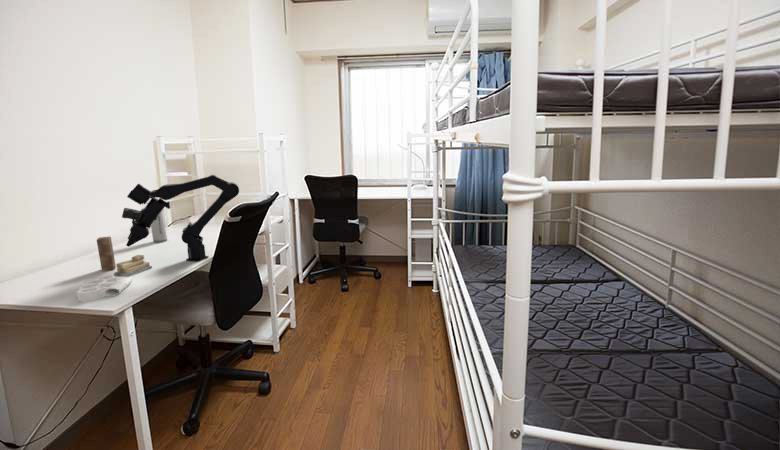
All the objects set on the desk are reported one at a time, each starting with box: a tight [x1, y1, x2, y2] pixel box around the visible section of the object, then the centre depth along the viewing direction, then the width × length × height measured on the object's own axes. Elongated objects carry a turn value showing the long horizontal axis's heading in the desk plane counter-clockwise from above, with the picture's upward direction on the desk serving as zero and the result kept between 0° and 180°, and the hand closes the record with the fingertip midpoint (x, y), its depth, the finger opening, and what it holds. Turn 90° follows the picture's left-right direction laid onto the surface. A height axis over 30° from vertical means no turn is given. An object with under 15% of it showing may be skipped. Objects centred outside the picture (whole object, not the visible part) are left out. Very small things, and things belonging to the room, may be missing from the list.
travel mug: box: [146, 202, 168, 244], centre depth 208 cm, size 6×7×20 cm
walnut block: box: [96, 236, 117, 272], centre depth 165 cm, size 4×4×13 cm
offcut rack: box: [112, 254, 153, 277], centre depth 162 cm, size 7×11×6 cm, turn 161°
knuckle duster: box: [74, 274, 133, 302], centre depth 142 cm, size 3×18×15 cm
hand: (128, 242), depth 167 cm, fingers open, 9 cm apart
